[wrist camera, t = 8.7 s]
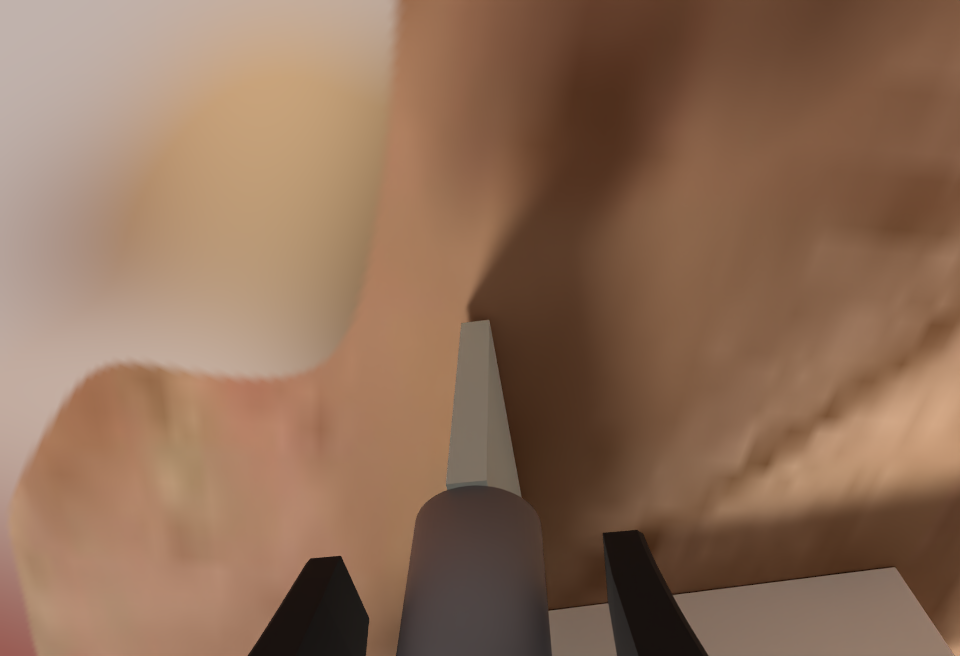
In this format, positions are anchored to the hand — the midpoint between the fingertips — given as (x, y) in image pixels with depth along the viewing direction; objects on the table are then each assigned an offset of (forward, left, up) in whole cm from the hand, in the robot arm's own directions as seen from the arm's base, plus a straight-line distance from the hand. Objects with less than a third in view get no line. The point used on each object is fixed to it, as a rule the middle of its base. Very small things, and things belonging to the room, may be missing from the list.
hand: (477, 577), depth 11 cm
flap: (0, -5, -7) cm, 9 cm away
